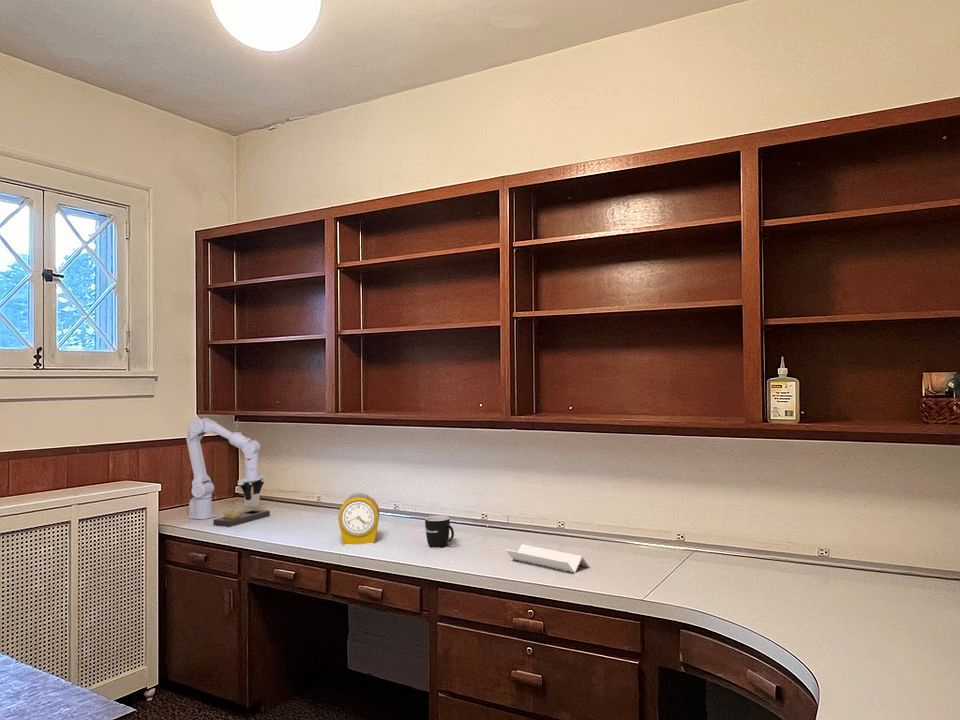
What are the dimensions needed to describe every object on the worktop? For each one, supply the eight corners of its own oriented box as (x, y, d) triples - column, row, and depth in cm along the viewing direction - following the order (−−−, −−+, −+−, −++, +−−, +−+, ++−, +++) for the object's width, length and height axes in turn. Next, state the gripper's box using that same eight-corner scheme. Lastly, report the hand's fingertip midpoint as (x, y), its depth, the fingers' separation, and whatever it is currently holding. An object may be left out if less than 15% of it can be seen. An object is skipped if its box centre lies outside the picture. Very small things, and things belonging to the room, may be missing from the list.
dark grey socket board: (213, 525, 311) (213, 519, 311) (254, 514, 333) (254, 509, 333) (229, 527, 307) (228, 521, 307) (269, 516, 328) (269, 510, 328)
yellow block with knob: (224, 524, 314) (223, 512, 314) (232, 522, 318) (231, 510, 318) (231, 525, 311) (231, 513, 311) (239, 522, 315) (239, 511, 315)
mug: (420, 546, 267) (419, 519, 267) (436, 541, 274) (436, 514, 275) (445, 551, 260) (445, 522, 260) (461, 546, 267) (461, 518, 267)
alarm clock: (338, 545, 272) (337, 495, 272) (340, 540, 280) (339, 492, 280) (378, 543, 273) (377, 494, 273) (380, 538, 281) (379, 490, 281)
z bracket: (522, 570, 250) (529, 554, 254) (582, 584, 233) (590, 567, 237) (505, 549, 244) (513, 534, 248) (566, 562, 227) (574, 545, 231)
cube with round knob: (244, 505, 324) (244, 494, 324) (252, 503, 328) (251, 492, 328) (252, 506, 322) (252, 494, 322) (259, 504, 326) (259, 493, 326)
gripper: (246, 470, 317) (246, 502, 317) (270, 466, 330) (270, 496, 330) (234, 470, 320) (234, 501, 320) (258, 465, 333) (258, 495, 333)
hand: (252, 498), depth 325 cm, fingers closed on cube with round knob, 4 cm apart
